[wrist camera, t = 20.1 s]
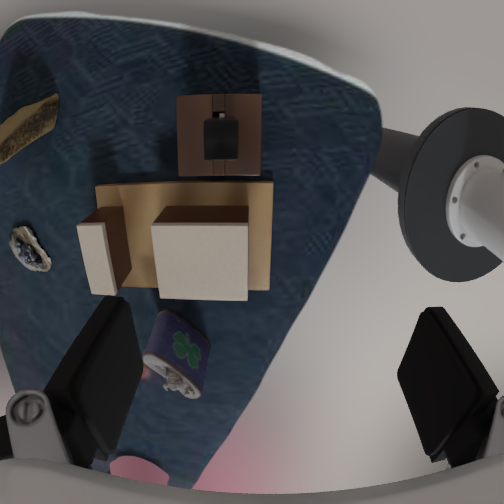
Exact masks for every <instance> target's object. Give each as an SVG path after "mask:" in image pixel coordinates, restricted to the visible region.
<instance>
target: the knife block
mask: <svg viewBox="0 0 504 504" xmlns="http://www.w3.org/2000/svg"><path fill="white" fill-rule="evenodd" d="M176 102H177V147H178V172H179V176H213V175H214V176H225V175H226V176H260V175H261V128H262V94H202V95H183V96H176ZM221 112H225V117H235V118H236V119H237V120H238V160H214V161H204V121H205V120H206V119H208V118H210V117H219V114H220V113H221Z"/></svg>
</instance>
